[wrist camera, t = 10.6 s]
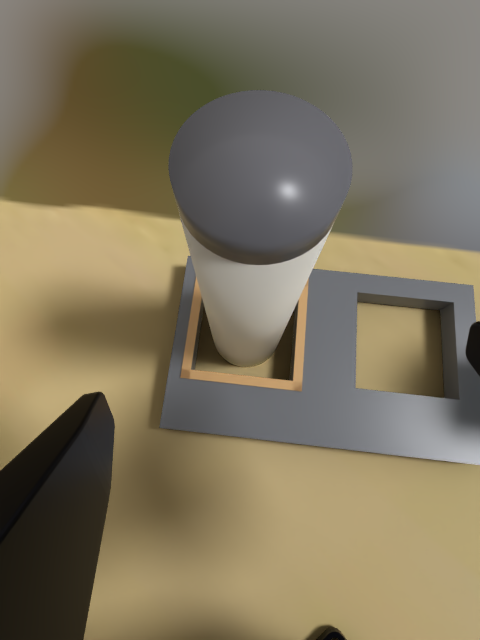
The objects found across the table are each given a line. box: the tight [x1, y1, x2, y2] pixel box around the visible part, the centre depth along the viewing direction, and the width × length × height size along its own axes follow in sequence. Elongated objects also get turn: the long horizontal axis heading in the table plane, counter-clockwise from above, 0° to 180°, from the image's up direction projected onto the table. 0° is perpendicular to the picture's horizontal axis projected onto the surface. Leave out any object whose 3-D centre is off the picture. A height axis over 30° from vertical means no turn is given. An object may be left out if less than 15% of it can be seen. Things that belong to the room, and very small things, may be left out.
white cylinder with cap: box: [169, 90, 352, 367], centre depth 15 cm, size 4×4×15 cm
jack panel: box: [159, 256, 480, 465], centre depth 21 cm, size 10×17×2 cm, turn 84°
